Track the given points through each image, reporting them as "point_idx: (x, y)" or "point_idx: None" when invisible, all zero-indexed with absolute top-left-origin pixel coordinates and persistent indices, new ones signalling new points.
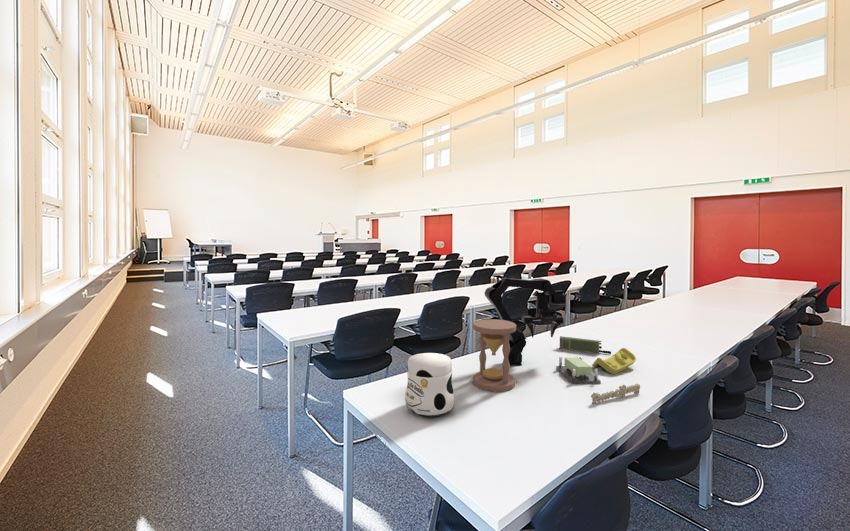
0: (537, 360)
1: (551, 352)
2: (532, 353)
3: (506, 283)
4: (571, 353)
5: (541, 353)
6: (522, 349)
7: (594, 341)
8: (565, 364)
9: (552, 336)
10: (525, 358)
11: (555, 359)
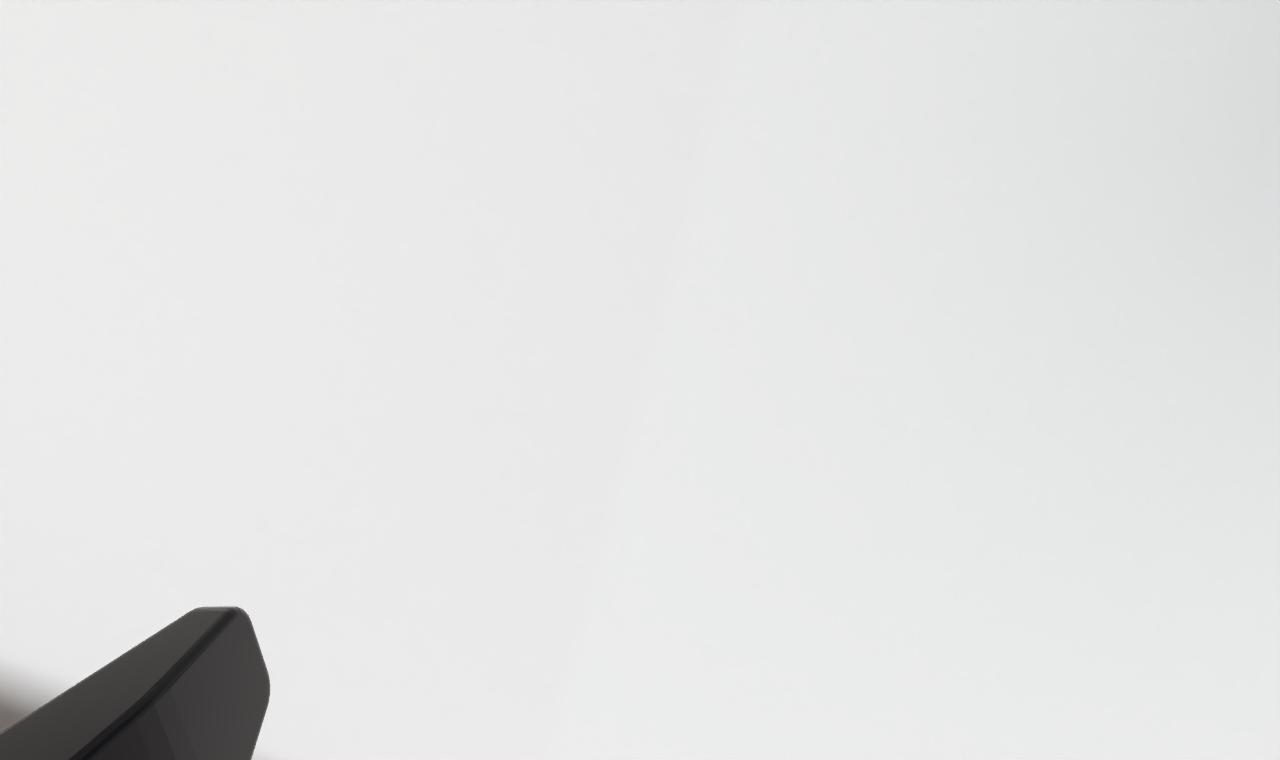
0: (832, 282)
1: (396, 751)
2: (805, 709)
3: None
4: (20, 698)
5: (611, 706)
6: None
7: None
8: None
9: (171, 627)
10: (1093, 414)
11: (376, 363)
